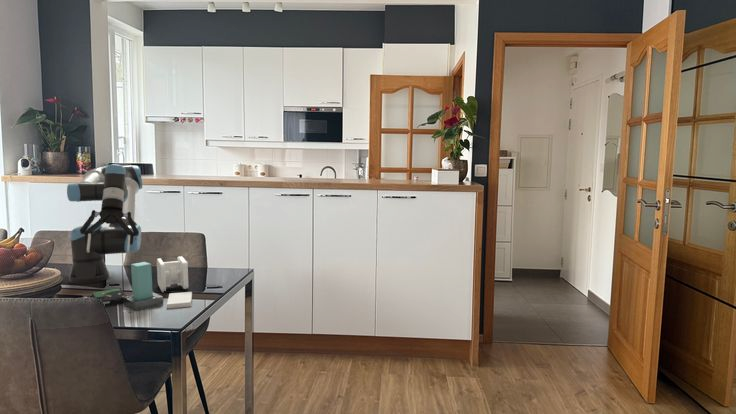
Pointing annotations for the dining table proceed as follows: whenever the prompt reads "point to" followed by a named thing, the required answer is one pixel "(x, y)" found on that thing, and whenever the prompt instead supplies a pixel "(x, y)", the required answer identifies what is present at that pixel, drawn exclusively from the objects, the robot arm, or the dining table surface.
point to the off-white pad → (179, 300)
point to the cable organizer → (172, 273)
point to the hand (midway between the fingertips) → (108, 251)
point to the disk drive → (110, 296)
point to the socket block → (142, 302)
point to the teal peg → (141, 280)
